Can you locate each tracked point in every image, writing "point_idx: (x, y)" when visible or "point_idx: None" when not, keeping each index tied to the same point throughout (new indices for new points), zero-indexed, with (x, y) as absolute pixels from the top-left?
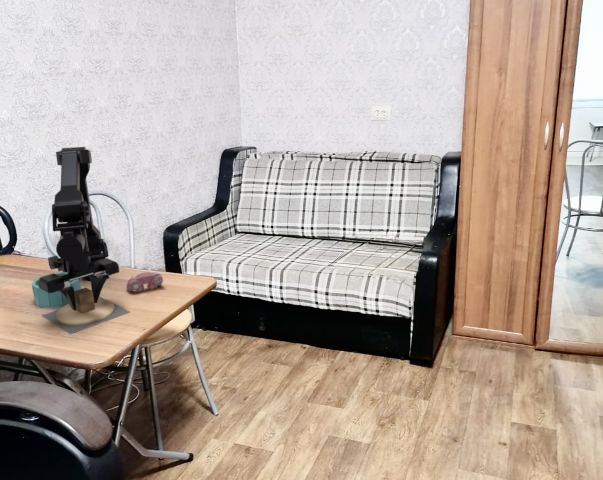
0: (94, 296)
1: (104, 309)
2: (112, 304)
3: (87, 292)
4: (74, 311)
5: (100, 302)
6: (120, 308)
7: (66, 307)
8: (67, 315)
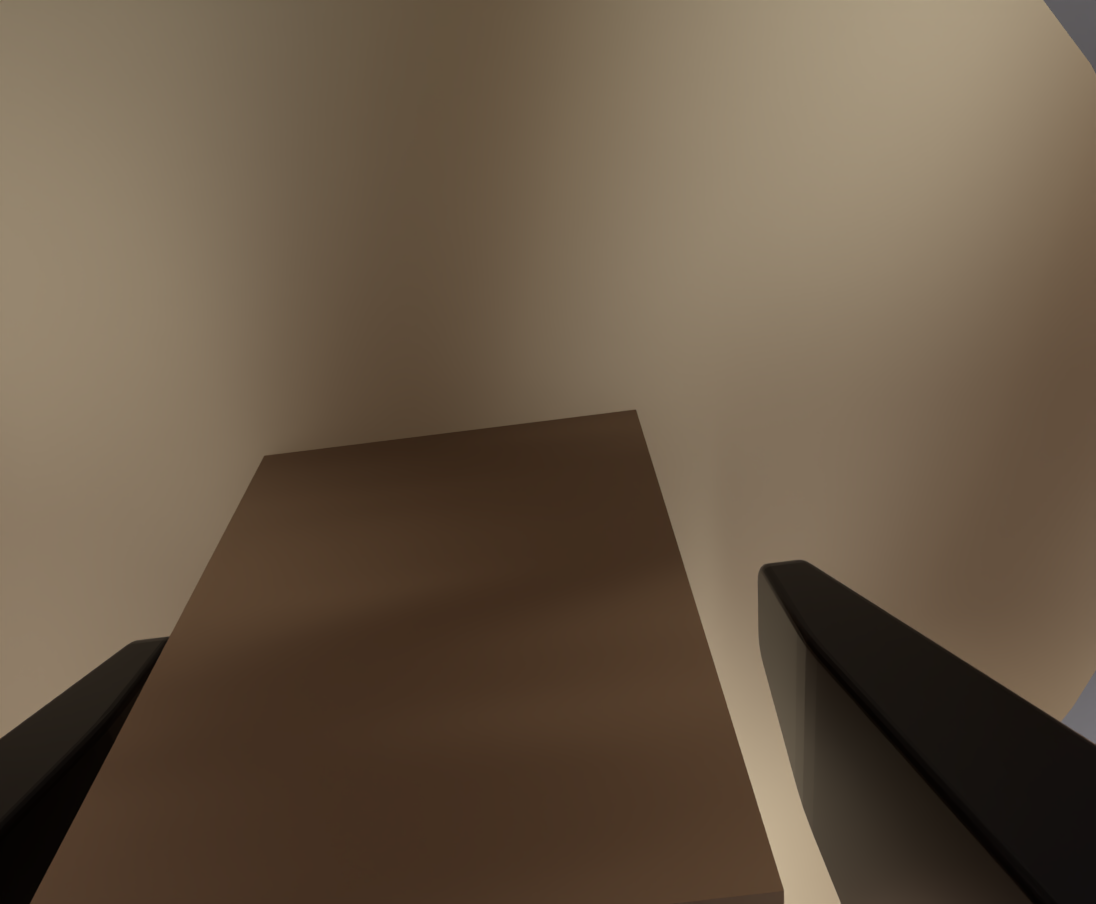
0: (826, 799)
1: (785, 808)
2: (1045, 700)
3: None
4: (216, 533)
5: (952, 435)
6: (1081, 708)
7: (45, 87)
8: (22, 636)
